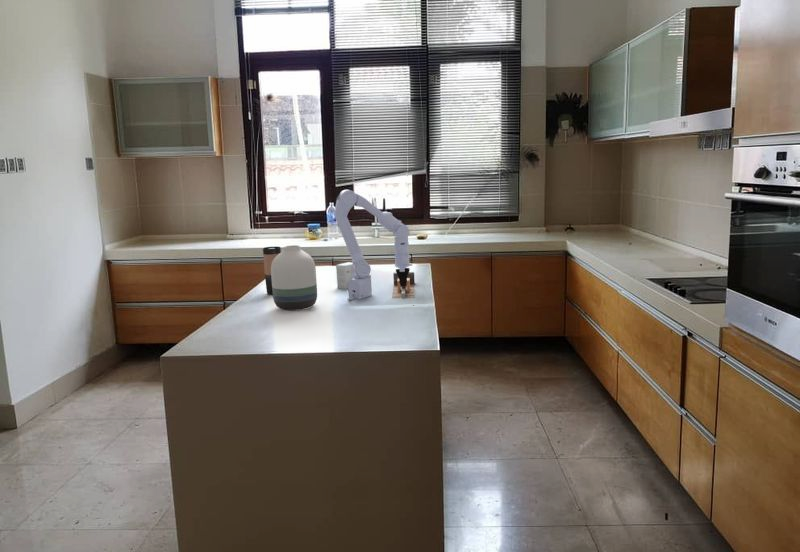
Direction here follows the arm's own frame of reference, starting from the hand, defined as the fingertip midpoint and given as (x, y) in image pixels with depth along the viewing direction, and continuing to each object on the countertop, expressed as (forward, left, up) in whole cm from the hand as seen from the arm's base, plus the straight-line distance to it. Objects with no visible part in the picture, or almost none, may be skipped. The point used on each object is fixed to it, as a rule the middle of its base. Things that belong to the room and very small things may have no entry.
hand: (403, 286), depth 263 cm
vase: (-37, +25, -4) cm, 45 cm away
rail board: (+4, +2, -4) cm, 6 cm away
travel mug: (-20, +55, -4) cm, 58 cm away
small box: (+4, +34, -4) cm, 34 cm away
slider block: (+3, +2, -2) cm, 5 cm away
